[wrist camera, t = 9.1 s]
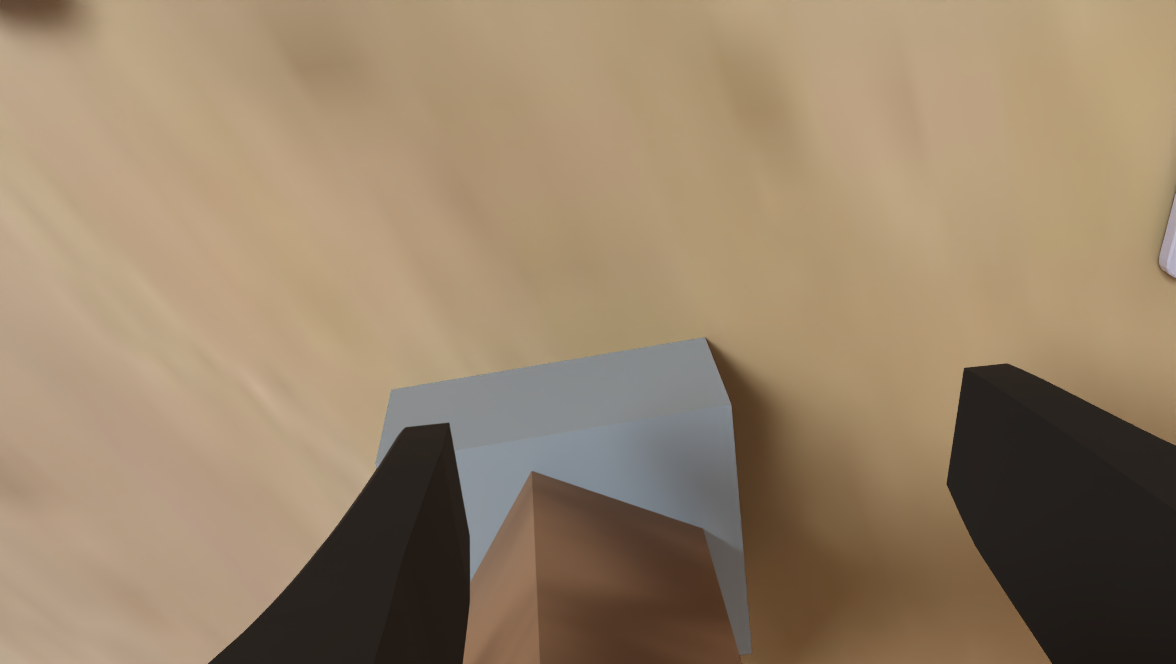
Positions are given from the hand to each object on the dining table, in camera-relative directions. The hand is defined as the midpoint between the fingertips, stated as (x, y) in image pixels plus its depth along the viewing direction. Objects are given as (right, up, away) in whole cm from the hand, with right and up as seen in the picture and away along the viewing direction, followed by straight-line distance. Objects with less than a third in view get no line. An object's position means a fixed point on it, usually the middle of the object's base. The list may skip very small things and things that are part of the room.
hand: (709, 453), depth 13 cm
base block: (-2, -2, +12) cm, 13 cm away
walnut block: (-2, -4, +9) cm, 10 cm away
